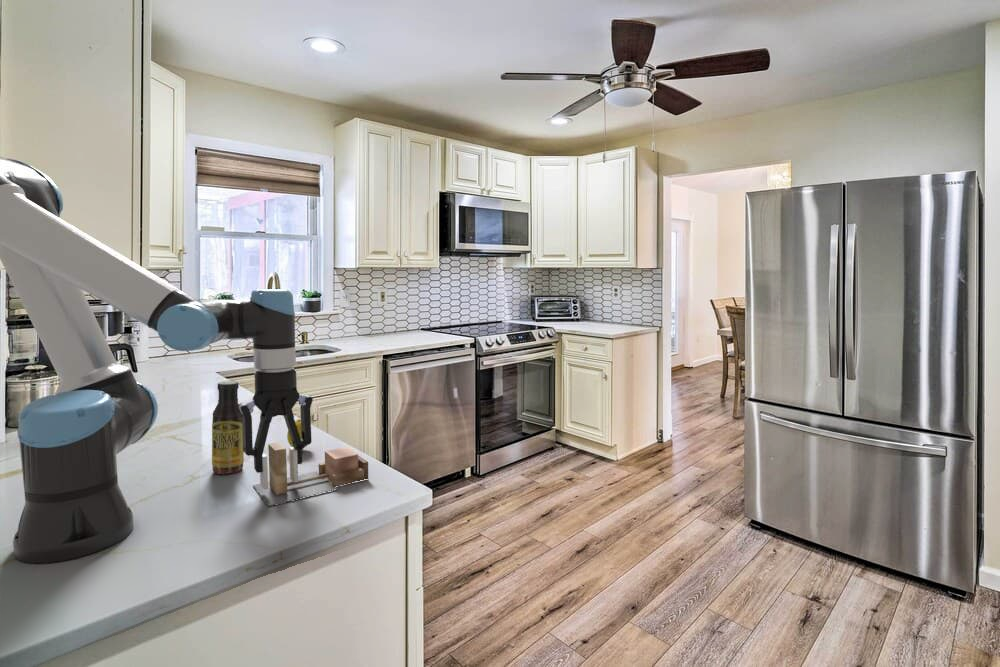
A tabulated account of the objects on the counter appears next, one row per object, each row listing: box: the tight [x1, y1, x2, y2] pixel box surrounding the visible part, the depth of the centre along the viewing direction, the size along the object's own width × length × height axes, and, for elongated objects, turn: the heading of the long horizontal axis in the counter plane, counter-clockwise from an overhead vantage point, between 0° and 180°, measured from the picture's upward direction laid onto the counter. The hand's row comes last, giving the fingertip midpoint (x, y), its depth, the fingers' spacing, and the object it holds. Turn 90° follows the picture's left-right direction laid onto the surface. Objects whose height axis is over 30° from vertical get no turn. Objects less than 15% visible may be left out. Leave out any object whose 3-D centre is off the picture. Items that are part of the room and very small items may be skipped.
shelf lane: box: [252, 454, 369, 507], centre depth 109 cm, size 20×12×4 cm, turn 128°
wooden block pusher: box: [267, 441, 359, 495], centre depth 108 cm, size 16×6×9 cm, turn 128°
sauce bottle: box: [211, 380, 245, 475], centre depth 115 cm, size 6×6×20 cm
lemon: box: [286, 418, 308, 449], centre depth 129 cm, size 6×6×8 cm
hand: (279, 483), depth 105 cm, fingers open, 5 cm apart
